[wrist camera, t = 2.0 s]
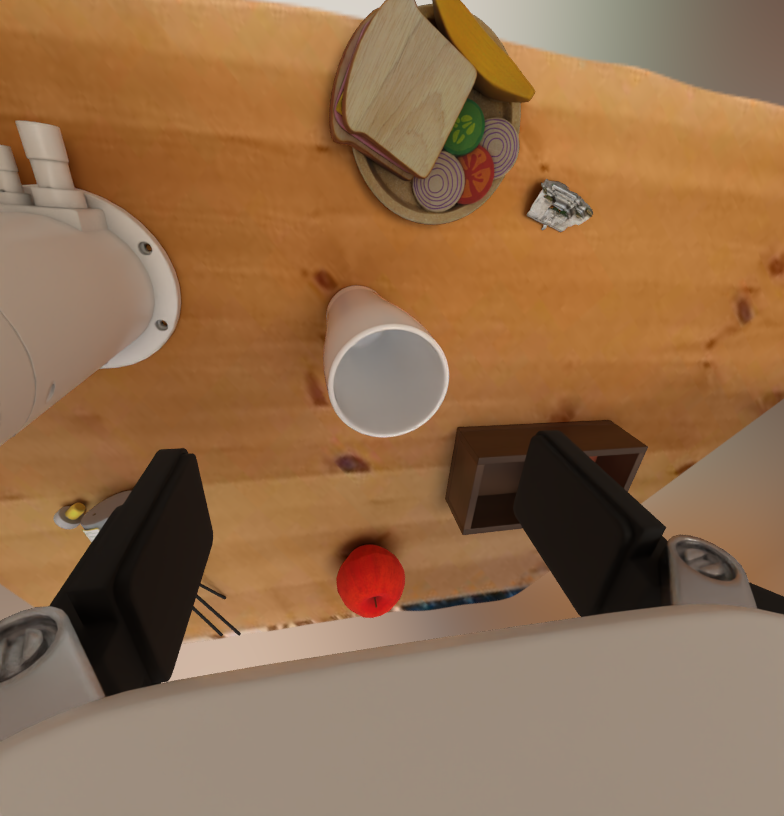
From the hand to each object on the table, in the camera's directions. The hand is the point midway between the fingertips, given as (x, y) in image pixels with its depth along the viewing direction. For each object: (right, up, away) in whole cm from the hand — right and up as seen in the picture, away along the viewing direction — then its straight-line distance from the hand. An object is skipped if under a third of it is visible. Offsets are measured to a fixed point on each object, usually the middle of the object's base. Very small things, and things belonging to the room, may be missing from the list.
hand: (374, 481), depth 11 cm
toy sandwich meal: (+3, +23, +17) cm, 28 cm away
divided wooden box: (+17, -4, +35) cm, 39 cm away
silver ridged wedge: (+15, +20, +20) cm, 32 cm away
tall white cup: (-3, +10, +22) cm, 25 cm away
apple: (-3, -16, +37) cm, 40 cm away
